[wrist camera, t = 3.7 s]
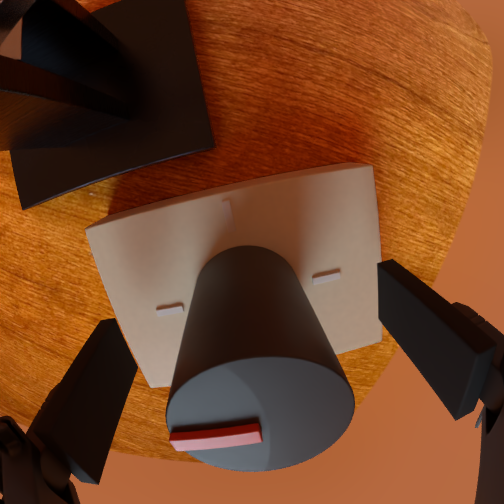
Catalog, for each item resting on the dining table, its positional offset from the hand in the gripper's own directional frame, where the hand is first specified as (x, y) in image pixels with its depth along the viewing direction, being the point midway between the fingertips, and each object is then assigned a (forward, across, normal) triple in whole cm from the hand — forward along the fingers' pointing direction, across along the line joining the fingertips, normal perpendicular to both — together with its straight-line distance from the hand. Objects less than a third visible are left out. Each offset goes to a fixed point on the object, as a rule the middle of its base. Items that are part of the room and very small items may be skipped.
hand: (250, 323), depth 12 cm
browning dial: (+3, 0, 0) cm, 3 cm away
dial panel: (+6, 0, 0) cm, 6 cm away
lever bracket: (+6, -6, +12) cm, 15 cm away
